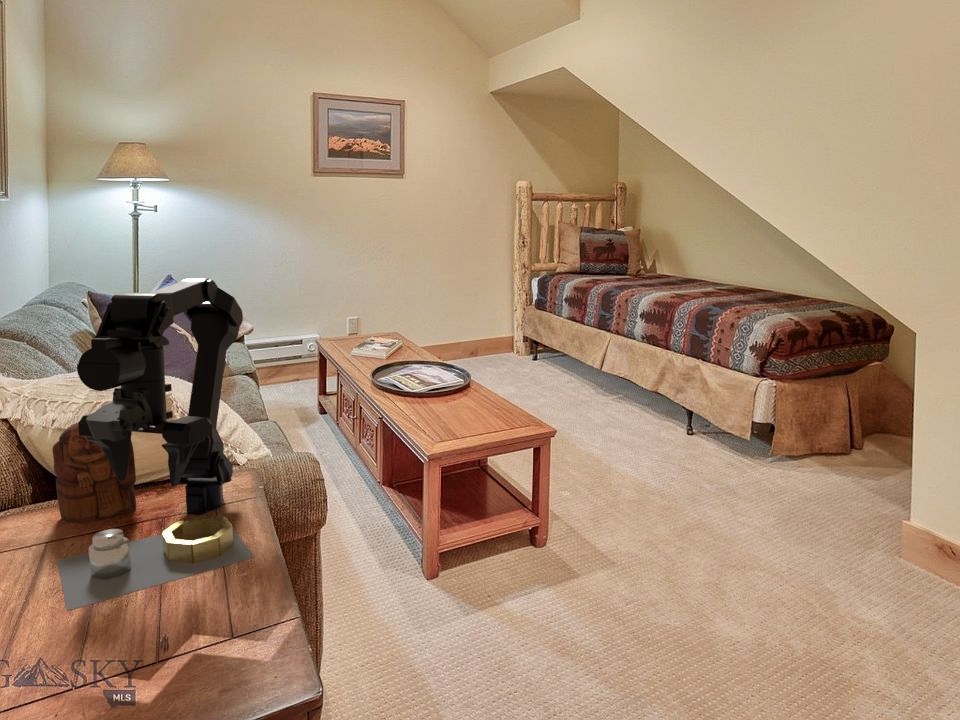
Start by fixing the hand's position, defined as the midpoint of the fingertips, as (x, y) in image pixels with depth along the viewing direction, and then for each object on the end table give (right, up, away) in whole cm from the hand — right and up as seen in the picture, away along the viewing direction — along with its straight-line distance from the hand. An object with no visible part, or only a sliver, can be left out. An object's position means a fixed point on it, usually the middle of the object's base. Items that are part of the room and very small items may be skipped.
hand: (148, 482), depth 95 cm
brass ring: (+6, -11, +4) cm, 13 cm away
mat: (+1, -13, +1) cm, 13 cm away
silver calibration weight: (-4, -12, -3) cm, 13 cm away
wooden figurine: (-16, -10, +16) cm, 25 cm away
